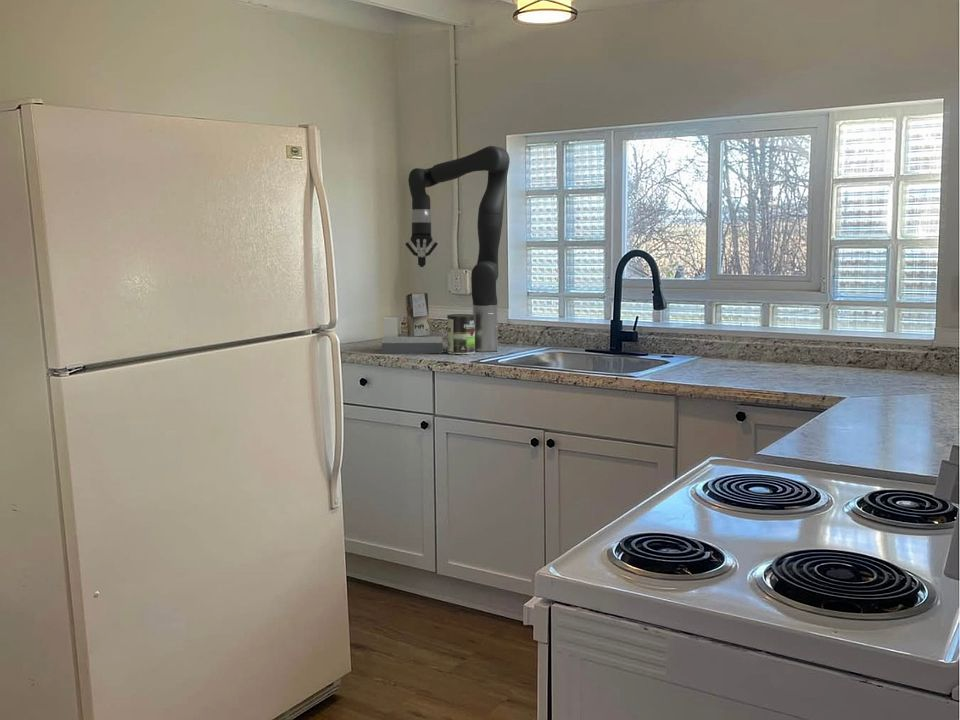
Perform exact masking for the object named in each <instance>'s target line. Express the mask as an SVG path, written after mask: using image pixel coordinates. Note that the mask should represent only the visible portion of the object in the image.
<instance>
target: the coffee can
mask: <svg viewBox="0 0 960 720" xmlns="http://www.w3.org/2000/svg"><path fill="white" fill-rule="evenodd" d="M446 317H447V354H448V353H449V354H448V355H455V354H462V355H461V356H464V355H465V354H468V355H475V353H476V351H475V315H473V314H468V313H466V314H465V313H456V314H454V313H453V314H447V315H446Z"/></svg>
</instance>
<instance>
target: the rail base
mask: <svg viewBox="0 0 960 720" xmlns="http://www.w3.org/2000/svg"><path fill="white" fill-rule="evenodd" d="M443 341H444V339H443V340H442V343H382V342H381V354H382V355H430V354H429V353H435V354H434V355H437V354H436V353H438V355H441V354H442V355H443V351H444V346H443V345H444V343H443Z"/></svg>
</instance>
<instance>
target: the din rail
mask: <svg viewBox="0 0 960 720" xmlns="http://www.w3.org/2000/svg"><path fill="white" fill-rule="evenodd" d="M442 340H443V341H444V339H443V332H430V336H426V337H408V332H407V333H406V332H405V333H404V332H399V337H384V336H382V337H381V344H382V343H442Z"/></svg>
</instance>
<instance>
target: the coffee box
mask: <svg viewBox="0 0 960 720" xmlns="http://www.w3.org/2000/svg"><path fill="white" fill-rule="evenodd" d="M405 308H406V309H405V310H406V322H407V323H406V324H407V333H408V337H426V336H430V333H431V332H430V329H431V327H430V313H429V310H430V309H429V297H428V292H411V293H409V294H407V295H405Z"/></svg>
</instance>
